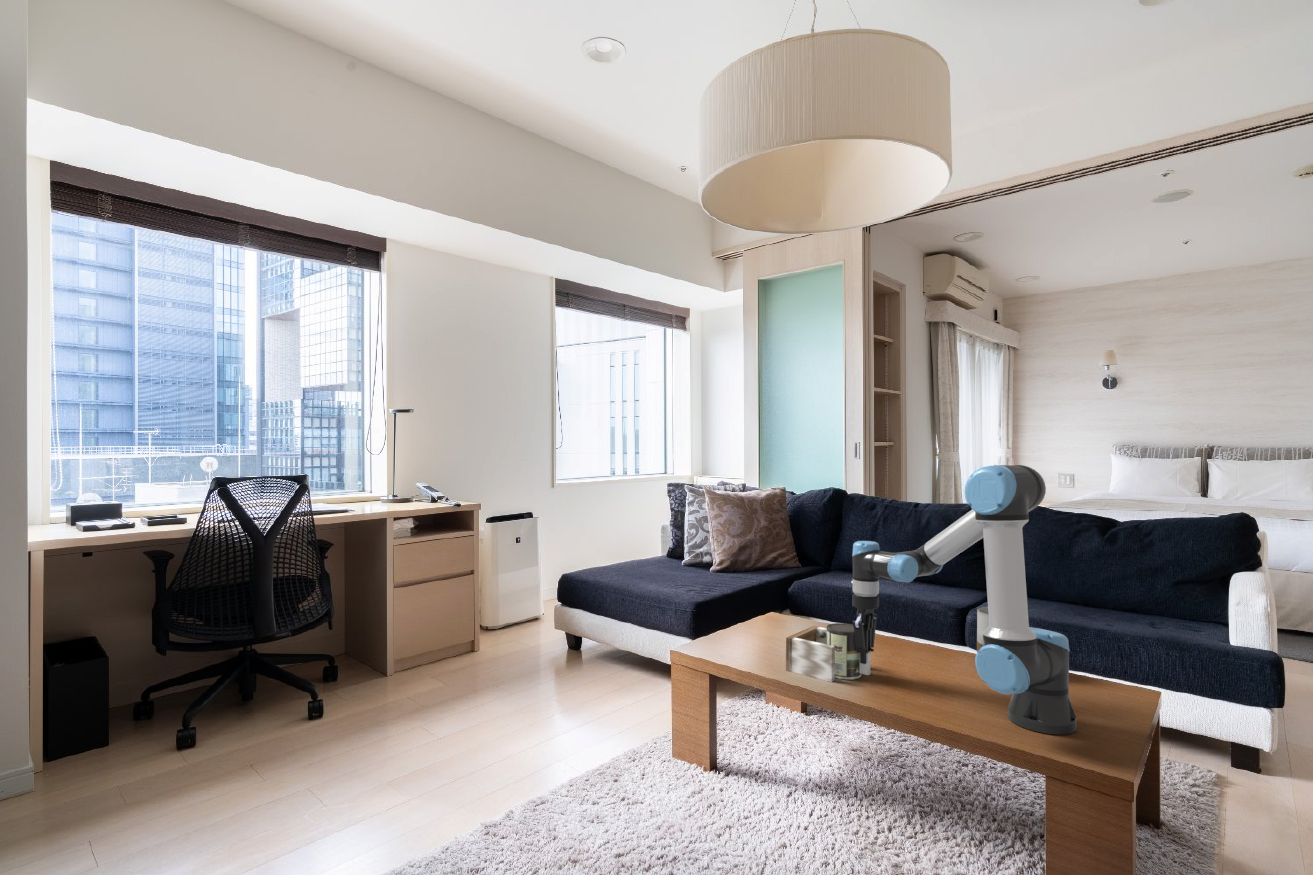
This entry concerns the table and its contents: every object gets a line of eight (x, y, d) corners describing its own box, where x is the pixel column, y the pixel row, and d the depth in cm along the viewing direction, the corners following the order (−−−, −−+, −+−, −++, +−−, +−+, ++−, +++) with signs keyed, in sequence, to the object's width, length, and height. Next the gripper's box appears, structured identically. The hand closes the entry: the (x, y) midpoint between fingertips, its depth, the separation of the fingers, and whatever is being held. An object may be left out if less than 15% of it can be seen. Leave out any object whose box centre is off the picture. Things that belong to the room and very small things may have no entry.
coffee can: (859, 669, 207) (859, 623, 207) (863, 681, 197) (863, 632, 197) (824, 667, 209) (825, 621, 209) (827, 678, 198) (827, 630, 199)
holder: (857, 666, 209) (857, 634, 209) (831, 681, 196) (831, 647, 196) (813, 656, 219) (813, 625, 219) (785, 670, 205) (786, 637, 205)
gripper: (862, 588, 206) (861, 665, 206) (844, 595, 196) (843, 676, 196) (886, 592, 201) (885, 670, 201) (868, 599, 191) (868, 682, 191)
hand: (864, 673), depth 199 cm, fingers closed
